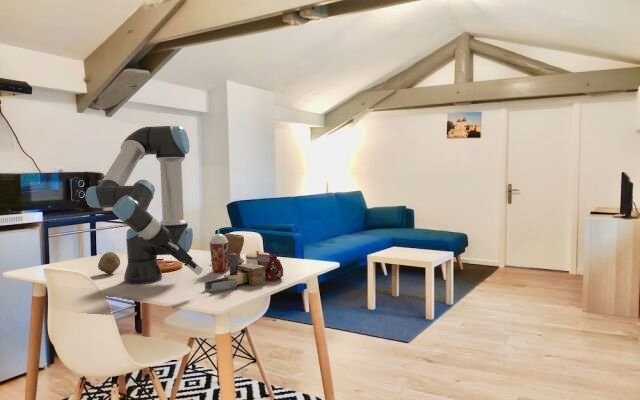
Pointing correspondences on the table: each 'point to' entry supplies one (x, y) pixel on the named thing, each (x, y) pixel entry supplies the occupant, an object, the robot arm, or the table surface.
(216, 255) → the smoothie
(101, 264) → the natural sponge
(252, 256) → the lidded jar
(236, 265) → the brass block with handle
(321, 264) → the table surface
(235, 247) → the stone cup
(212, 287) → the channel
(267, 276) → the toy fire truck
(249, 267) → the socket
